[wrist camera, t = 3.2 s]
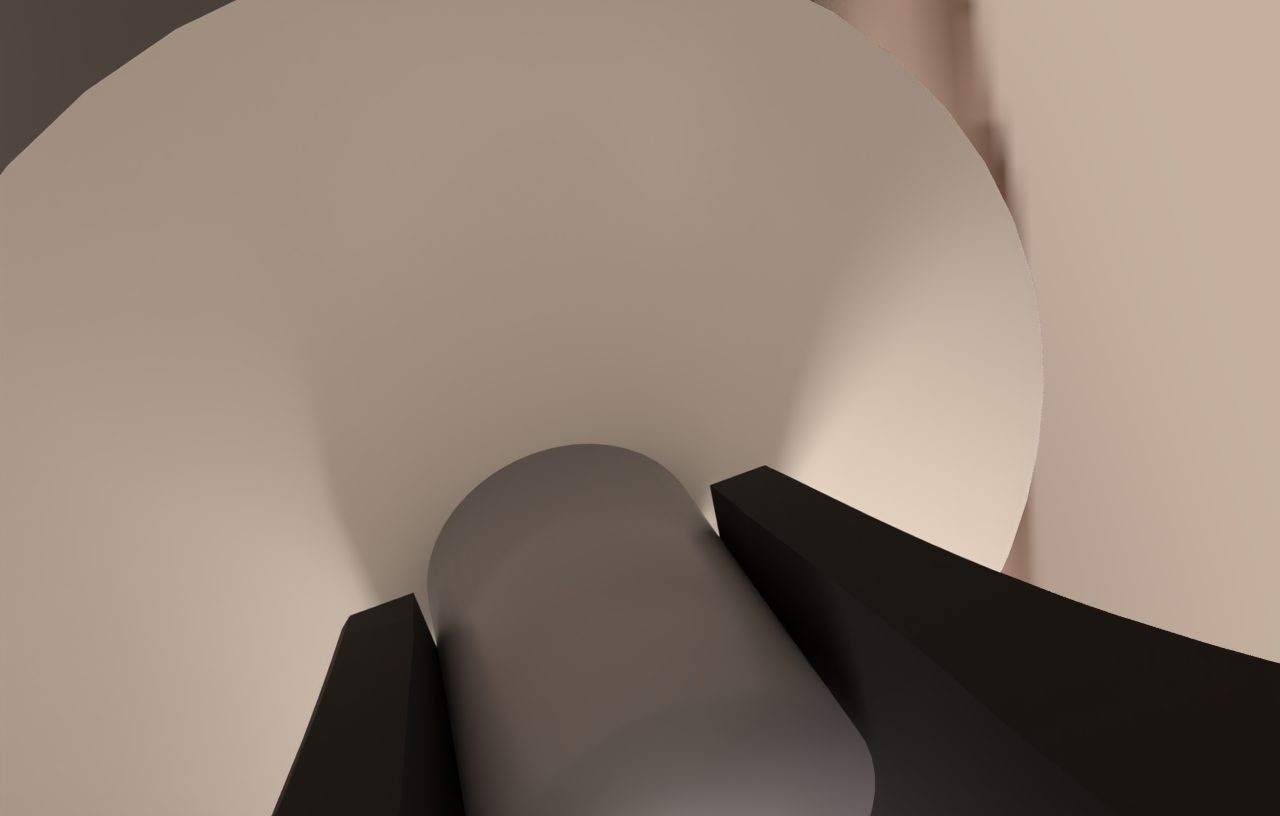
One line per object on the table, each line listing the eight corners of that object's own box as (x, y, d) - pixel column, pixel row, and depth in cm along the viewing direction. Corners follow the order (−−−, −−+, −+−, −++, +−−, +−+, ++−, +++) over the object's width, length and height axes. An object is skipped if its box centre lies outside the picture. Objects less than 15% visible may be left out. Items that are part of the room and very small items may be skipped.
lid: (998, 692, 14) (1243, 951, 10) (242, 1027, 12) (205, 1510, 8) (1002, -190, 8) (1573, -335, 4) (-485, 145, 6) (-1802, 415, 2)
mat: (849, 511, 20) (860, 522, 20) (238, 742, 18) (236, 761, 17) (780, -209, 14) (795, -214, 13) (-225, 0, 11) (-248, 0, 11)
